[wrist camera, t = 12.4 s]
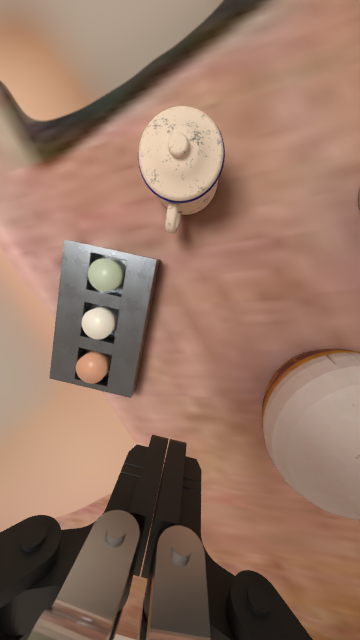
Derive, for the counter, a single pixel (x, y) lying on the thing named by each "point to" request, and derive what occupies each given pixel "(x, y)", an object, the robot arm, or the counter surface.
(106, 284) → the sage button
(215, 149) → the teacup with lid
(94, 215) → the counter surface
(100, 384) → the panel
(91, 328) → the ivory button
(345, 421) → the jug
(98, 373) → the orange rounded piece
